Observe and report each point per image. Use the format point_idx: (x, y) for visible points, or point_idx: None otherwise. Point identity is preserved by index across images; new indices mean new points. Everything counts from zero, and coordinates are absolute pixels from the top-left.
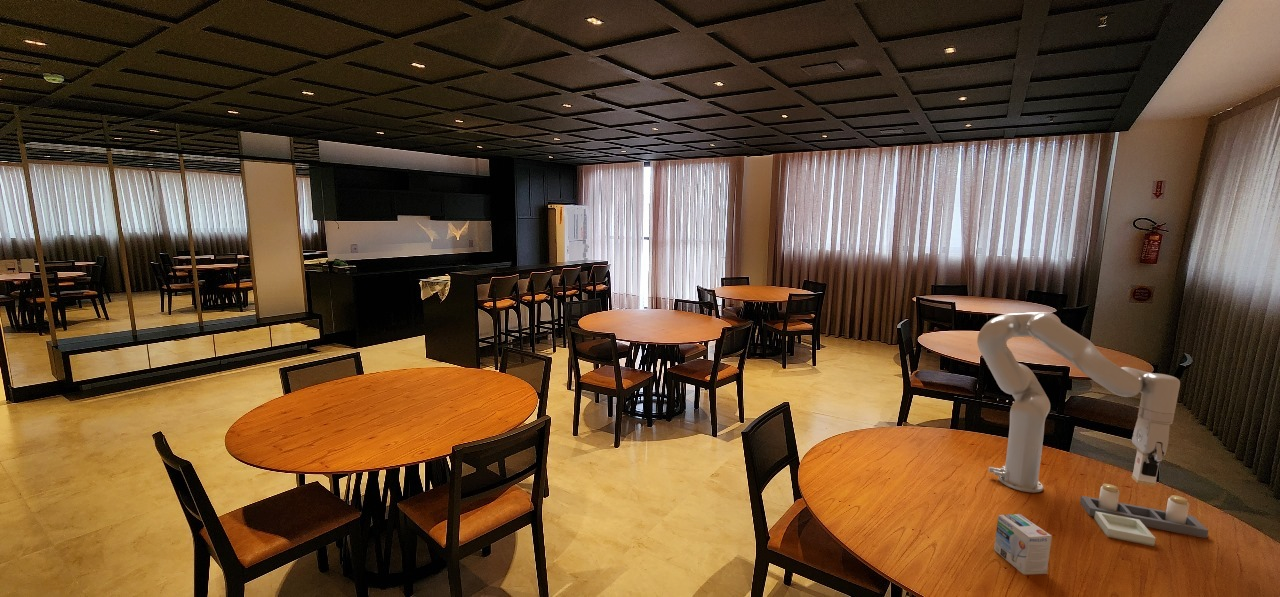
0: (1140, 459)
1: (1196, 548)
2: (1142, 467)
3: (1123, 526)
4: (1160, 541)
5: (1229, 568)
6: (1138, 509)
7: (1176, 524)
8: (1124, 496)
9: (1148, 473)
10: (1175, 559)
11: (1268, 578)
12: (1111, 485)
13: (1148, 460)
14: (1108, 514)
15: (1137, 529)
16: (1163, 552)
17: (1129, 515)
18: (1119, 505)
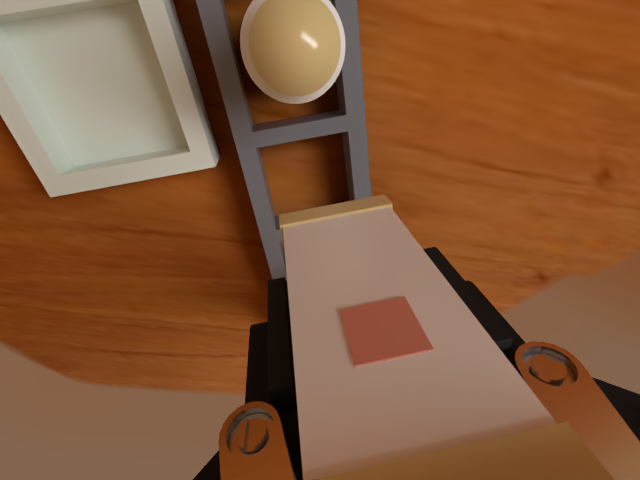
0: (341, 367)
1: (184, 289)
2: (287, 319)
3: (158, 99)
4: (145, 208)
5: (108, 335)
6: (351, 179)
7: (271, 273)
8: (507, 152)
9: (252, 328)
10: (17, 230)
11: (130, 386)
12: (320, 57)
13: (227, 468)
14: (161, 33)
15: (171, 149)
16: (43, 204)
17: (233, 134)
18: (344, 111)
